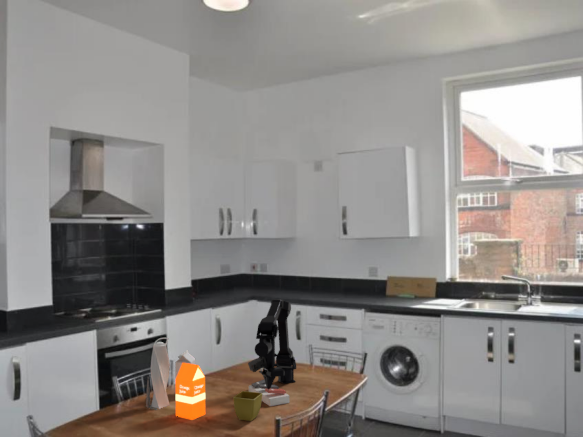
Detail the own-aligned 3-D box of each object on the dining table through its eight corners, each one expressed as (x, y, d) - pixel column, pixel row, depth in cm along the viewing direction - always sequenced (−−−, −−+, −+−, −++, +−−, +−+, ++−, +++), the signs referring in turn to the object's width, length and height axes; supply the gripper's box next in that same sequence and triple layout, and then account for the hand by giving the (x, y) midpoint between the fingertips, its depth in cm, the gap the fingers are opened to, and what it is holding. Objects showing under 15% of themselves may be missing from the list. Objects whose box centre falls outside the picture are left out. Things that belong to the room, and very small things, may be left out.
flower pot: (263, 416, 205) (262, 392, 206) (254, 423, 197) (254, 399, 197) (242, 413, 208) (242, 390, 209) (232, 421, 200) (232, 397, 200)
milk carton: (195, 392, 237) (195, 349, 238) (191, 397, 230) (190, 353, 231) (180, 392, 238) (180, 349, 239) (175, 397, 231) (175, 353, 232)
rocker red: (281, 391, 226) (282, 388, 226) (285, 393, 223) (286, 391, 223) (265, 390, 222) (265, 388, 223) (268, 393, 219) (269, 390, 219)
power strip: (261, 386, 246) (261, 379, 246) (289, 402, 221) (289, 395, 221) (243, 389, 241) (243, 382, 241) (270, 406, 217) (269, 398, 217)
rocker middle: (274, 387, 232) (275, 384, 232) (278, 389, 229) (278, 386, 229) (258, 386, 229) (258, 384, 229) (261, 388, 226) (262, 386, 226)
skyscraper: (160, 402, 225) (160, 336, 226) (174, 405, 220) (173, 338, 221) (145, 408, 218) (144, 339, 219) (158, 411, 213) (157, 341, 214)
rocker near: (267, 380, 239) (267, 378, 238) (271, 382, 235) (270, 379, 235) (251, 385, 235) (251, 383, 235) (255, 388, 232) (254, 385, 232)
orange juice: (192, 420, 202) (191, 367, 203) (175, 416, 207) (175, 364, 207) (205, 414, 209) (205, 362, 209) (189, 410, 213) (188, 360, 214)
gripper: (241, 349, 226) (242, 386, 226) (259, 358, 210) (260, 397, 209) (265, 346, 231) (265, 382, 231) (284, 354, 215) (285, 393, 214)
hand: (268, 388), depth 221 cm, fingers closed
